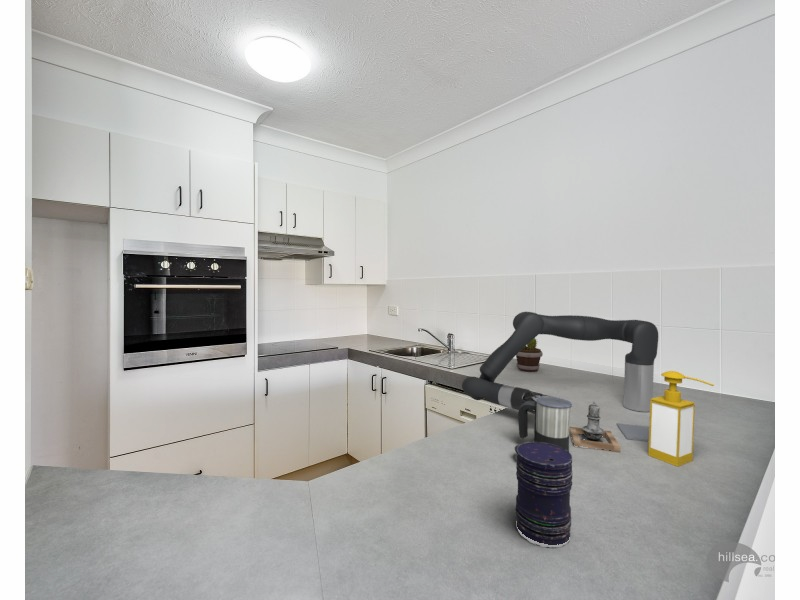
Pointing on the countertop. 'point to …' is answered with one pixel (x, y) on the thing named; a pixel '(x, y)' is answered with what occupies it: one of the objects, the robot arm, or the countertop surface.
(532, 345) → the flowerpot
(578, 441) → the holder frame
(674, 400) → the soap bottle
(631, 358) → the robot arm
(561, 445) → the milk frother
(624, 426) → the slate mat
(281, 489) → the countertop surface
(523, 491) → the navy blue cylinder
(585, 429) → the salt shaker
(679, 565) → the countertop surface
